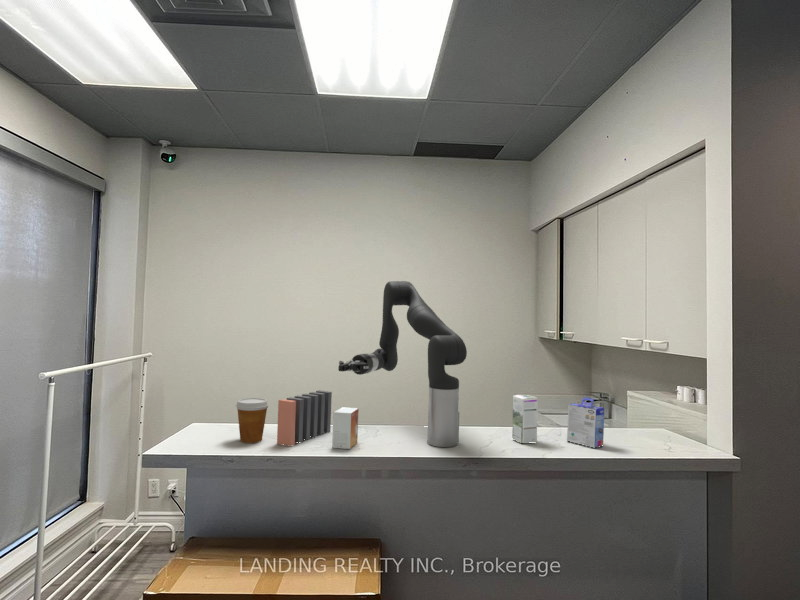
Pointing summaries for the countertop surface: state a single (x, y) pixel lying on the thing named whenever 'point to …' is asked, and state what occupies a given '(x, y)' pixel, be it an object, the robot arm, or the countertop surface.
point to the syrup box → (524, 418)
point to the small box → (345, 428)
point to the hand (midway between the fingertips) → (340, 368)
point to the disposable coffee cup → (251, 418)
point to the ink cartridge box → (585, 423)
